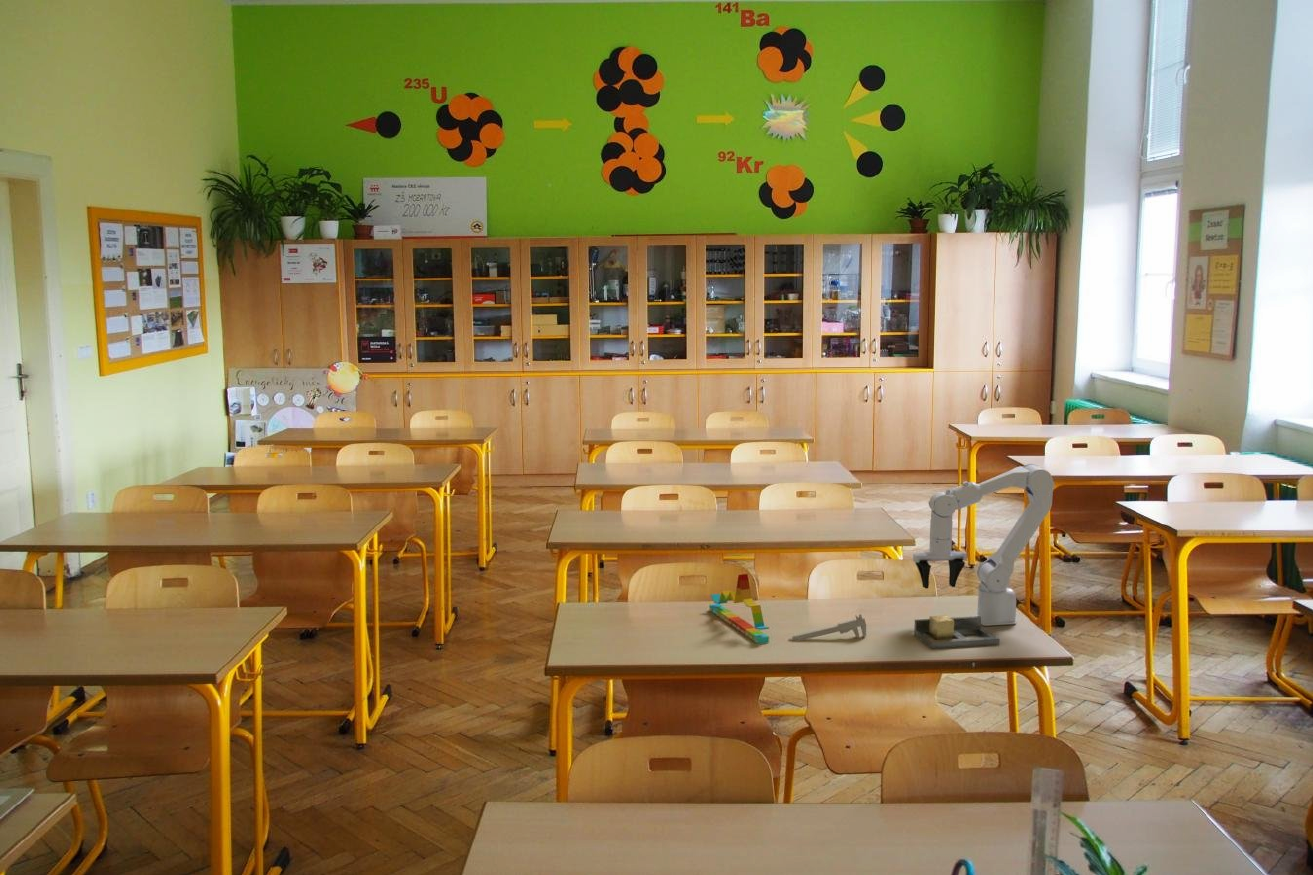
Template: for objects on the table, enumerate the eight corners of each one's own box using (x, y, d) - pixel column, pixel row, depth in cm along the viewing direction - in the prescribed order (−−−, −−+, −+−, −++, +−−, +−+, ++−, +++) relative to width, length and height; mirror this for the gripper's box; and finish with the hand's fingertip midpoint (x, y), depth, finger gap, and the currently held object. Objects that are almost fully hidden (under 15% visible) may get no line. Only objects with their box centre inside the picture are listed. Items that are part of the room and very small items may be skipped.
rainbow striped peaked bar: (708, 611, 305) (709, 558, 303) (719, 610, 306) (719, 557, 304) (757, 645, 277) (758, 587, 275) (768, 643, 278) (769, 586, 276)
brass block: (944, 637, 283) (945, 615, 282) (953, 643, 278) (954, 620, 277) (928, 638, 282) (929, 616, 281) (936, 644, 277) (937, 621, 276)
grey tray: (978, 630, 288) (979, 616, 287) (999, 644, 277) (999, 629, 277) (914, 634, 285) (914, 619, 284) (932, 648, 274) (932, 633, 273)
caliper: (866, 635, 284) (862, 613, 283) (868, 636, 283) (864, 614, 282) (791, 654, 281) (786, 632, 280) (792, 655, 280) (787, 633, 279)
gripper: (959, 532, 298) (957, 581, 300) (909, 535, 296) (907, 583, 298) (971, 538, 291) (969, 588, 293) (919, 541, 289) (918, 591, 291)
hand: (938, 586), depth 295 cm, fingers open, 7 cm apart
